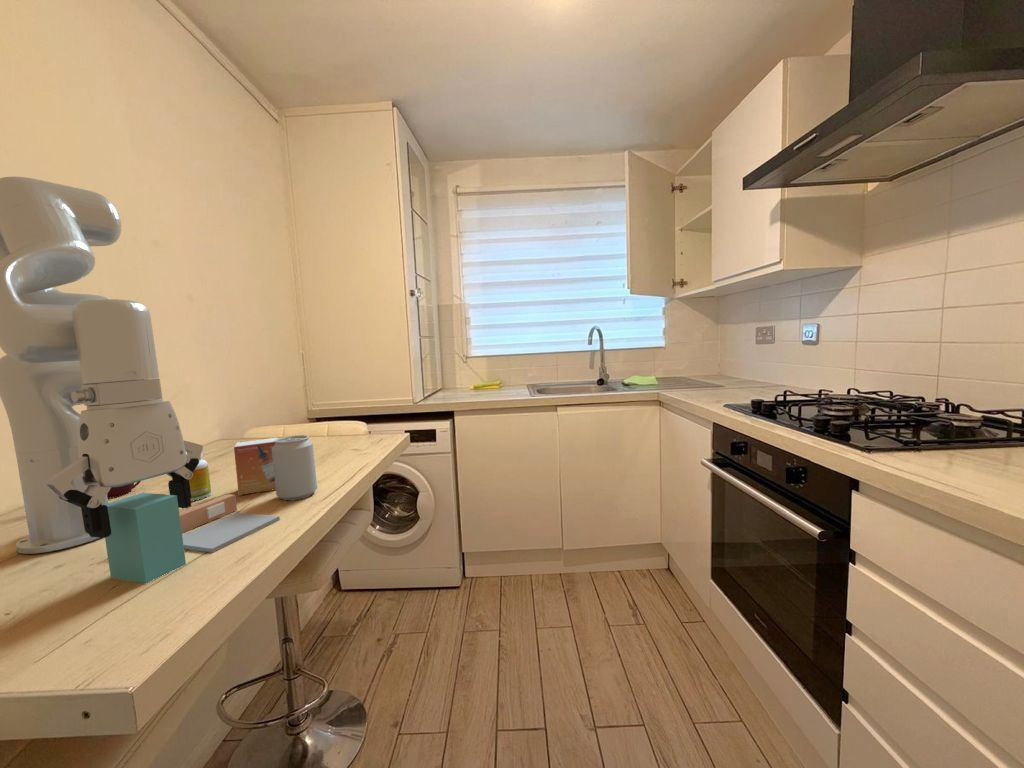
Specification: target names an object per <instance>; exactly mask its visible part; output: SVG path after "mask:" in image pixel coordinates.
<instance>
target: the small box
mask: <svg viewBox="0 0 1024 768" xmlns="http://www.w3.org/2000/svg"><path fill="white" fill-rule="evenodd" d="M277 439H279V438H278V436H277V437H271V438H265V439H263V438H262V439H257V440H249V441H237V442H236V443H235V445H234V447H233V451H234V463H235V474H236V481H237V492H238V496H243V494H244V495H248V494H249V493H250V494H255V492H256V493H262V492H267V490H269V491H273V490H272V489H276V486H275V477H274V468H273V459H272V447H273V446H274V445H275V442H274V441H275V440H277ZM261 491H262V492H261Z"/></svg>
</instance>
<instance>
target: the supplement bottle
mask: <svg viewBox="0 0 1024 768" xmlns="http://www.w3.org/2000/svg"><path fill="white" fill-rule="evenodd" d="M186 456H187V452H186ZM186 458H187V457H186ZM198 460H199V464H198V466H197V467H196V468H195V470H194V471H193V476H192V478H191V479H189V484H190V491H191V499H190V500H191V502H194V501H193V500H196V501H199V500H198V499H200V500H202V498H203V499H206V498H208V497H209V495H210V496H211V495H212V487H211V486H212V485H211V480H210V473H209V463H208V461H207V460H206V459H203V452H202V453H201V456H200V458H199V459H198ZM207 496H208V497H207ZM205 497H206V498H205Z"/></svg>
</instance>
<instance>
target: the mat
mask: <svg viewBox="0 0 1024 768" xmlns="http://www.w3.org/2000/svg"><path fill="white" fill-rule="evenodd" d="M280 520H281V517H280V516H278V515H270V514H269V515H268V514H258V513H248V512H240V511H239V512H236V511H235V512H233V513H231V514H228V515H226V516H225V517H223V518H222V517H221V518H220V519H216V520H214V521H213V522H209V523H207V524H205V525H202V527H201V526H200V527H199V528H198V527H197V529H196V528H195V529H193V530H192V531H191V530H190V531H188V532H187V533H183V534H182V538H183V546H184V550H192V551H197V552H198V551H199V552H206V553H212V554H213V553H215V552H217V551H219V550H221V549H223V548H226V547H228V546H229V545H231V544H233V543H236V542H238V541H239V540H242V539H243V538H245V537H247V536H249V535H251V534H253V533H255V532H258V531H260V530H261V529H264V528H266V527H268V526H270V525H272V524H274V523H276V522H278V521H280Z"/></svg>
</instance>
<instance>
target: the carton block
mask: <svg viewBox="0 0 1024 768" xmlns="http://www.w3.org/2000/svg"><path fill="white" fill-rule="evenodd" d="M104 505H106V506H107V508H108V514H109V520H110V527H111V535H110V536H108V537H106V538H104V541H105V547H106V553H107V560H108V561H107V562H108V567H109V574H110V578H111V579H112V578H113V579H119V580H122V581H128V582H134V583H138V584H144V583H147V584H149V583H151V582H153V581H154V580H153V579H155V580H157V579H159V578H161V577H163V576H165V575H167V574H169V572H170V571H172V570H174V571H176V570H178V569H180V568H182V567H183V566H185V565H187V562H186V554H185V549H184V546H183V538H182V535H183V533H182V531H181V523H180V516H179V512H180V510H179V509H180V508H178V501H177V495H170V494H165V493H164V494H163V493H162V494H161V493H150V492H141V493H137V494H134V495H131V496H127V497H124V498H121V499H117V500H114V501H110V502H108V503H107V504H104ZM181 566H182V567H181ZM177 568H178V569H177ZM175 569H176V570H175ZM172 572H173V571H172ZM166 573H167V574H166ZM170 573H171V572H170ZM164 574H165V575H164ZM162 575H163V576H162ZM160 576H161V577H160ZM158 577H159V578H158ZM156 578H157V579H156ZM152 580H153V581H152ZM150 581H151V582H150ZM148 582H149V583H148Z"/></svg>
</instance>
